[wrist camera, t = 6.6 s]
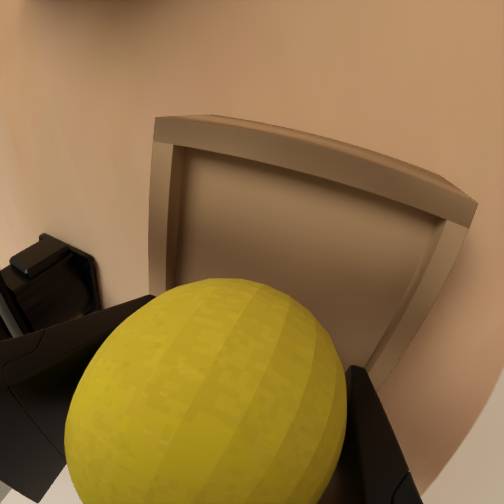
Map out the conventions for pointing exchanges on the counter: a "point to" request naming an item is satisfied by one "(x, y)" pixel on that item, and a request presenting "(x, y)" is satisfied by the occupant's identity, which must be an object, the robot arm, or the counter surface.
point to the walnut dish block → (305, 227)
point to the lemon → (210, 402)
